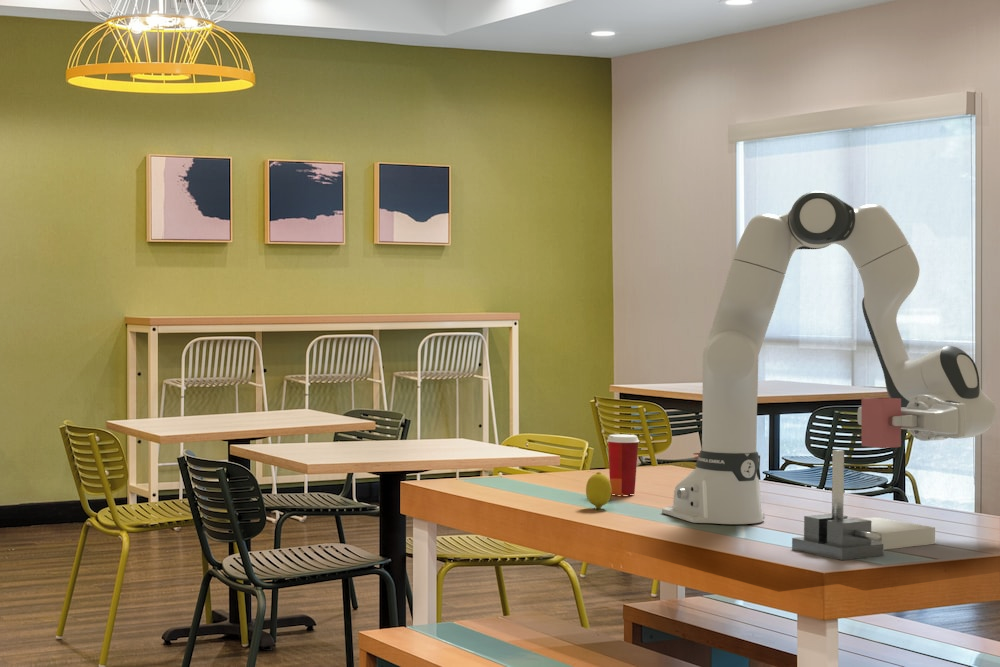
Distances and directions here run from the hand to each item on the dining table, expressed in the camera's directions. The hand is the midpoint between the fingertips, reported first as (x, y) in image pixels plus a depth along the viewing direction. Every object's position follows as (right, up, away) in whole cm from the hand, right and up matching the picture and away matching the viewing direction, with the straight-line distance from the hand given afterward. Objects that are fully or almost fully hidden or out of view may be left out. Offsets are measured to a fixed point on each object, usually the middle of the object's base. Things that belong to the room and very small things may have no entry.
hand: (877, 420), depth 230 cm
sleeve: (+1, -5, 0) cm, 5 cm away
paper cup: (-42, -22, +60) cm, 77 cm away
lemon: (-49, -22, +38) cm, 66 cm away
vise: (-10, -23, -13) cm, 28 cm away
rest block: (0, -23, +1) cm, 23 cm away
